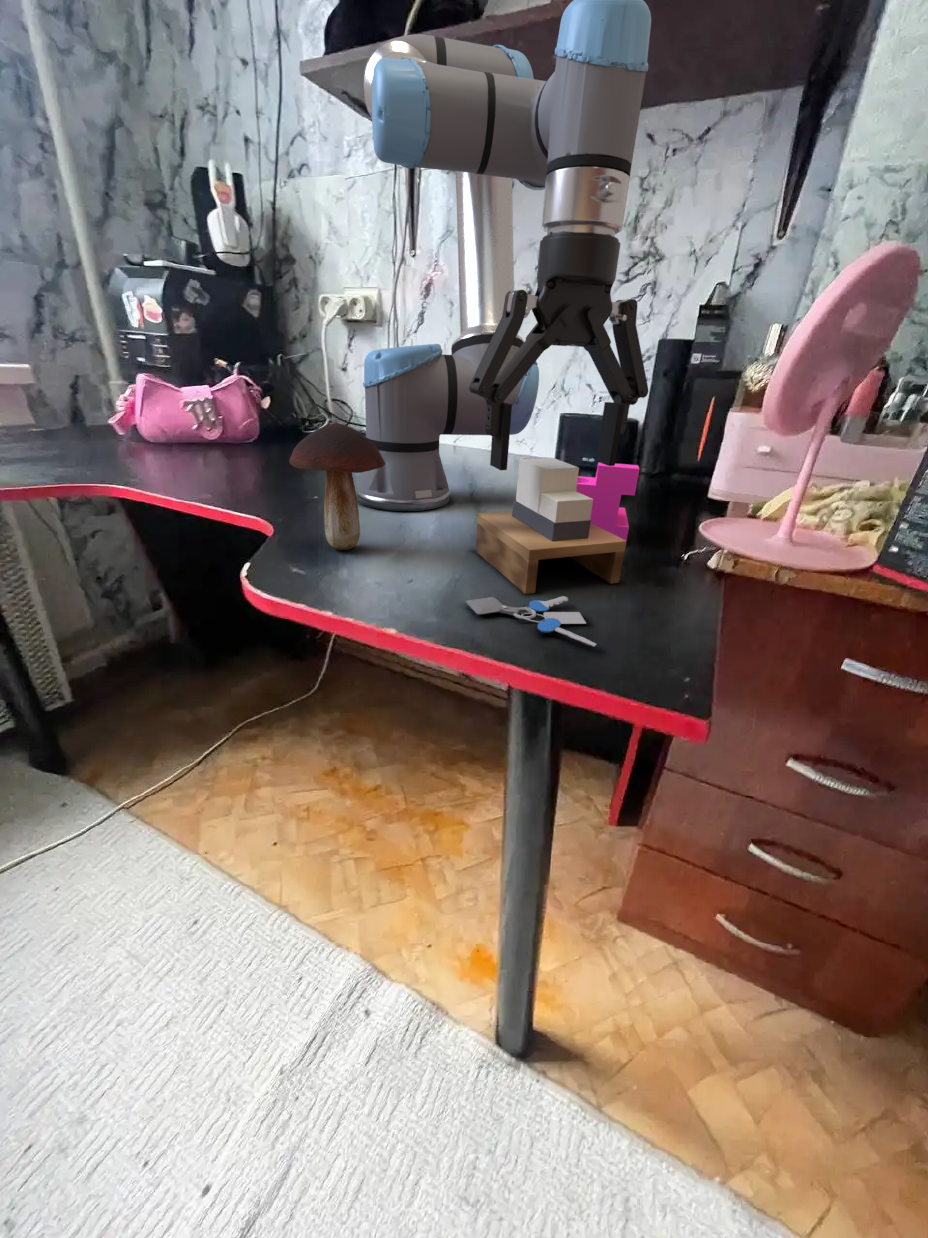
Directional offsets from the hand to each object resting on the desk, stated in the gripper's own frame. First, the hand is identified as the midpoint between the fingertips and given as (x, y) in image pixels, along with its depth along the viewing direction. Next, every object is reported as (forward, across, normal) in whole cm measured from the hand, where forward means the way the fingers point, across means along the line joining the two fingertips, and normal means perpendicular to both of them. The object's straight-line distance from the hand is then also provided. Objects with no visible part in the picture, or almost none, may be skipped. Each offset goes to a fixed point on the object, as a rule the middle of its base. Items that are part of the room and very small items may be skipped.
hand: (553, 465), depth 61 cm
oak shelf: (+12, 0, 0) cm, 12 cm away
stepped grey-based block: (+7, 0, 0) cm, 7 cm away
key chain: (+12, -7, -12) cm, 19 cm away
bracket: (+12, +14, +12) cm, 22 cm away
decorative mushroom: (+12, -22, +12) cm, 28 cm away
